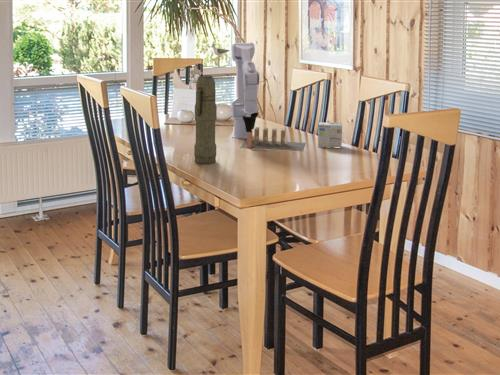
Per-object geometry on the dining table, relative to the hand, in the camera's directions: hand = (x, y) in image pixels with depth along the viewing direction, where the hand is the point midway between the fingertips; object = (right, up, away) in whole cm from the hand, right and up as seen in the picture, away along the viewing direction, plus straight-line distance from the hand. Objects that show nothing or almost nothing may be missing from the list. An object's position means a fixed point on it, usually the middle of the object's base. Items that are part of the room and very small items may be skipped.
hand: (250, 130), depth 344 cm
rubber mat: (+11, -6, +7) cm, 14 cm away
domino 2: (+3, -5, +9) cm, 11 cm away
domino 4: (+11, -6, +8) cm, 15 cm away
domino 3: (+7, -5, +9) cm, 13 cm away
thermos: (-18, -15, -26) cm, 35 cm away
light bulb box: (+36, -7, +7) cm, 37 cm away
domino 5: (+15, -6, +8) cm, 18 cm away
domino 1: (0, -7, +2) cm, 7 cm away
